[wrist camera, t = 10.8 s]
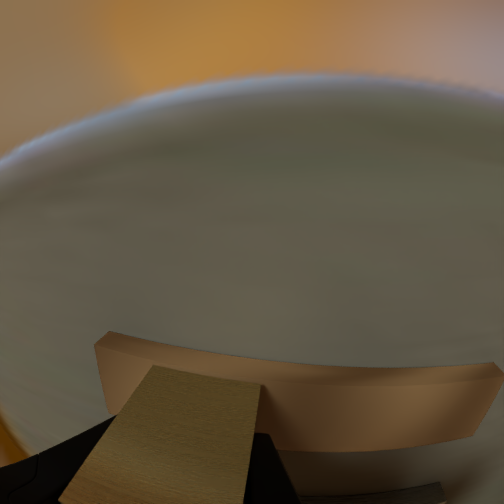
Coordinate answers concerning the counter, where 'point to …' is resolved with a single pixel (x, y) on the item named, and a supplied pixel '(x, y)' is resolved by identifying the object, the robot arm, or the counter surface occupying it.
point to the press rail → (322, 396)
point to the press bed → (388, 497)
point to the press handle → (173, 444)
